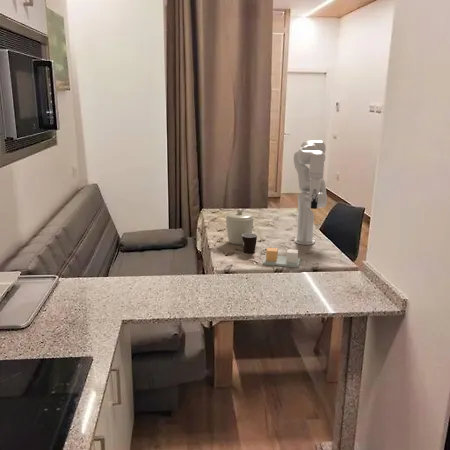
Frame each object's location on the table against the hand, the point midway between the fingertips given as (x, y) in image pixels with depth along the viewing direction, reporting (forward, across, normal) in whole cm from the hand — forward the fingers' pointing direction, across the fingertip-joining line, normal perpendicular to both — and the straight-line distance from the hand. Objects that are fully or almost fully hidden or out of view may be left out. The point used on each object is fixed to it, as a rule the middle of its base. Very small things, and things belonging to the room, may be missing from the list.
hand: (314, 206), depth 246 cm
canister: (+28, -14, -44) cm, 54 cm away
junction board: (+28, +15, -15) cm, 35 cm away
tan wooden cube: (+27, +15, -20) cm, 37 cm away
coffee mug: (+28, +1, -35) cm, 45 cm away
